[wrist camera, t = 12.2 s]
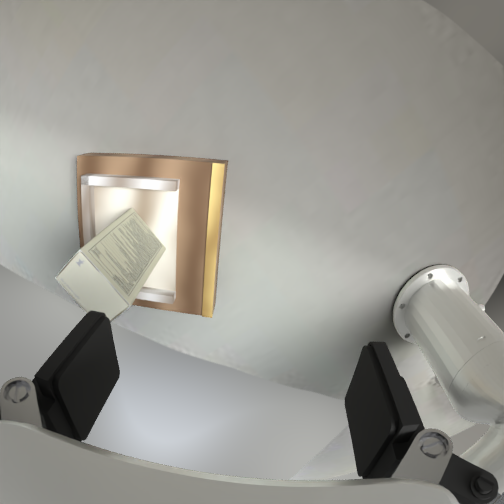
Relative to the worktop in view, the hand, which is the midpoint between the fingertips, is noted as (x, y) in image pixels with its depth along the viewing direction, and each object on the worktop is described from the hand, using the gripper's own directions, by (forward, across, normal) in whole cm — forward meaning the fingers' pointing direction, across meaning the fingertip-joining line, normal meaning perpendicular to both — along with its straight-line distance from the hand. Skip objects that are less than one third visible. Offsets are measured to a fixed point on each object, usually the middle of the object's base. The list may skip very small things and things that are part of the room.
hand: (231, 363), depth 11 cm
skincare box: (+23, +13, +4) cm, 27 cm away
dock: (+26, +13, +4) cm, 30 cm away
